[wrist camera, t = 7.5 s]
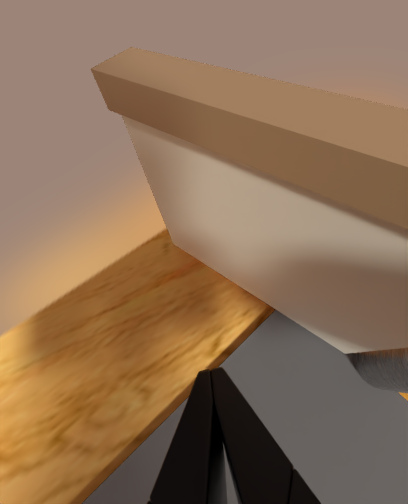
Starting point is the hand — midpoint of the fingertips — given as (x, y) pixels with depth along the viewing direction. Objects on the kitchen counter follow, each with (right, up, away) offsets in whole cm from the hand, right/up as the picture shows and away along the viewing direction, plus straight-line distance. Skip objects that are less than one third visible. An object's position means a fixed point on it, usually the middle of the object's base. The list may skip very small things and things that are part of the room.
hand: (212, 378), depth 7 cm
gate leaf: (+3, +2, +7) cm, 8 cm away
